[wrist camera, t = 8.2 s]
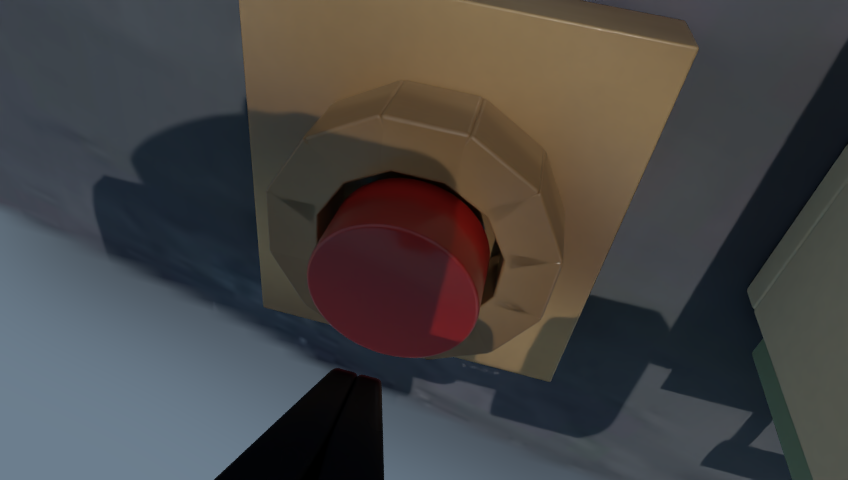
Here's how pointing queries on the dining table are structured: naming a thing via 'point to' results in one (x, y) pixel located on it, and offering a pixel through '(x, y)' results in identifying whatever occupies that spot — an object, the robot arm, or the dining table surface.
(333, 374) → the robot arm
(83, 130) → the dining table surface
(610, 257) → the dining table surface
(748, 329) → the dining table surface
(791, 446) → the drawer
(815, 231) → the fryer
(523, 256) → the control block
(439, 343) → the red button
